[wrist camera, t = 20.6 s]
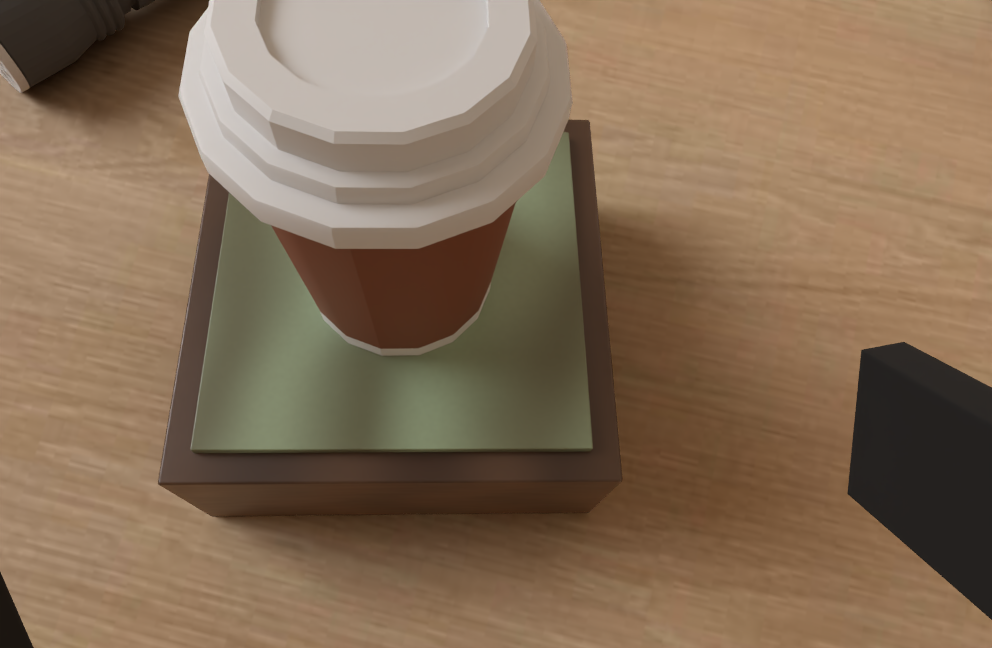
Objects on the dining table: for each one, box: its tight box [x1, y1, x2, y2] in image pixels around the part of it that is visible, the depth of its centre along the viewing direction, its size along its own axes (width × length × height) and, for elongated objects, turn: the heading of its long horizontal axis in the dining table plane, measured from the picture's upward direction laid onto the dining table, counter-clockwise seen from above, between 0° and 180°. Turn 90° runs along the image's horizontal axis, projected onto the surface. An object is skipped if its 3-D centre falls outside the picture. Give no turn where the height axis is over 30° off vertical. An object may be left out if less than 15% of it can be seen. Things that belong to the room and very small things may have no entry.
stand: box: [158, 120, 622, 516], centre depth 29 cm, size 15×15×6 cm
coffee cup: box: [179, 0, 573, 356], centre depth 21 cm, size 9×9×12 cm
